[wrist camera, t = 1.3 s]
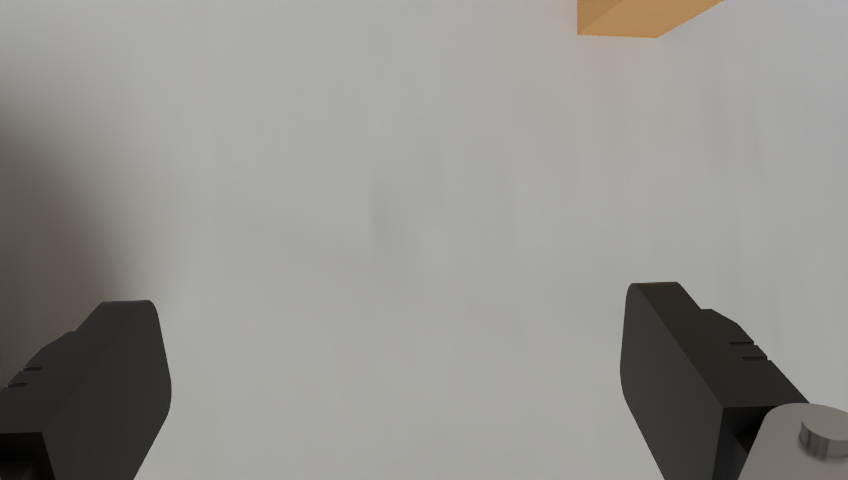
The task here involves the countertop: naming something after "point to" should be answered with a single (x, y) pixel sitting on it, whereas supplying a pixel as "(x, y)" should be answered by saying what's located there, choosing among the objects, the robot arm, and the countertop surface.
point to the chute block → (636, 16)
